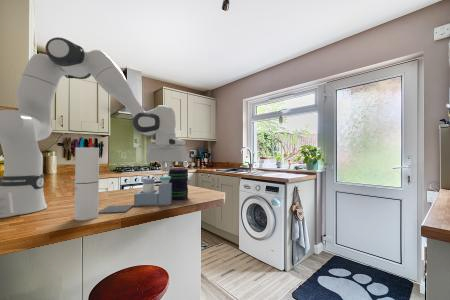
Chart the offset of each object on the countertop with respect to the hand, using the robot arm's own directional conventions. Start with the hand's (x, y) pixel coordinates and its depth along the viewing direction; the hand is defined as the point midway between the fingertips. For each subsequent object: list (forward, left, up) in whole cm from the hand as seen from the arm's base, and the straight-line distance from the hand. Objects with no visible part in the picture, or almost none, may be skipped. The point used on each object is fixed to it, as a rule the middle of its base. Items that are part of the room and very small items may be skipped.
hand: (165, 171), depth 95 cm
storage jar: (+5, +10, -15) cm, 19 cm away
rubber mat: (-18, -8, -15) cm, 25 cm away
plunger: (0, 0, -10) cm, 10 cm away
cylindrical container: (-25, -17, -15) cm, 34 cm away
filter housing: (-5, +3, -15) cm, 16 cm away
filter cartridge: (-8, +3, -15) cm, 17 cm away
